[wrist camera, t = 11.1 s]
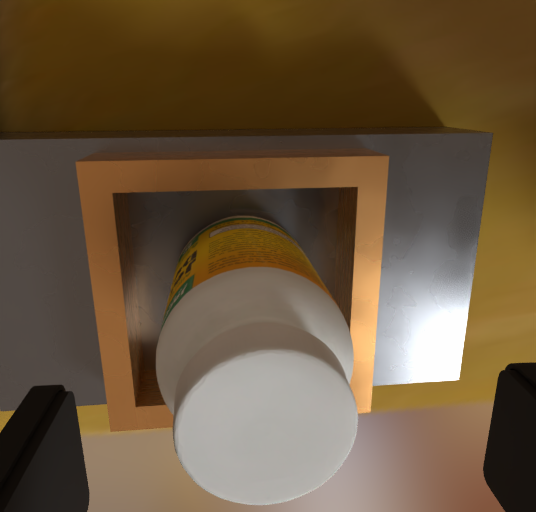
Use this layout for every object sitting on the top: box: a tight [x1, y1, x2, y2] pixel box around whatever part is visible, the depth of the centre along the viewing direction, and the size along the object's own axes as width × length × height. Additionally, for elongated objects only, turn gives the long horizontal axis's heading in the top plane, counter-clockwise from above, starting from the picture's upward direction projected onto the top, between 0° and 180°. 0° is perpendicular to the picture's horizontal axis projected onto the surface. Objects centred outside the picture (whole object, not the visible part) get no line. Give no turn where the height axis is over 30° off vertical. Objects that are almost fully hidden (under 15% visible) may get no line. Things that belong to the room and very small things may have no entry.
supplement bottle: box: [156, 216, 358, 505], centre depth 15 cm, size 5×5×10 cm
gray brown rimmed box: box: [0, 127, 493, 432], centre depth 20 cm, size 23×11×6 cm, turn 90°
